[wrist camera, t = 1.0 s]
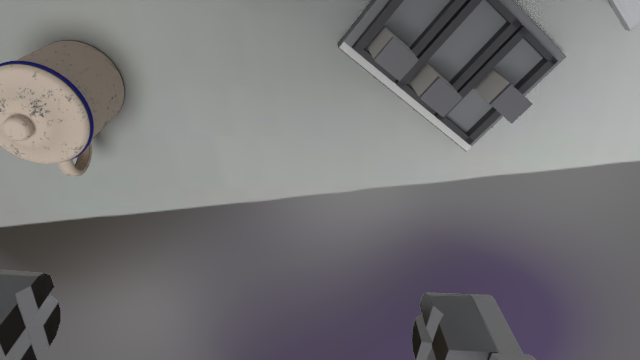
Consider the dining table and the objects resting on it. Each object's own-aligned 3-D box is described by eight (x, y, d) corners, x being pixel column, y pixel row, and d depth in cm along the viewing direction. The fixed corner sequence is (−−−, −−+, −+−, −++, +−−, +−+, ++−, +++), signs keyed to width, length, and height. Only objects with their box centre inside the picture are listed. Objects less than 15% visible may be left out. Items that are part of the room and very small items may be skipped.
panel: (433, -78, 37) (441, -78, 35) (558, 52, 43) (571, 59, 41) (337, 44, 42) (339, 50, 40) (461, 145, 48) (469, 155, 46)
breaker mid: (426, 62, 42) (439, 77, 38) (447, 80, 43) (462, 97, 39) (408, 81, 43) (419, 98, 39) (430, 99, 44) (443, 117, 40)
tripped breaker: (491, 68, 42) (511, 84, 38) (511, 86, 43) (532, 103, 39) (472, 87, 43) (490, 104, 39) (492, 104, 44) (511, 123, 40)
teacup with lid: (19, 37, 41) (-73, 74, 31) (115, 35, 41) (54, 71, 31) (59, 150, 47) (-7, 211, 37) (143, 148, 48) (99, 208, 38)
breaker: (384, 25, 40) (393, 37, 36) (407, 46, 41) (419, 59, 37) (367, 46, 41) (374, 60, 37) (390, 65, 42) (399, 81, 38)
